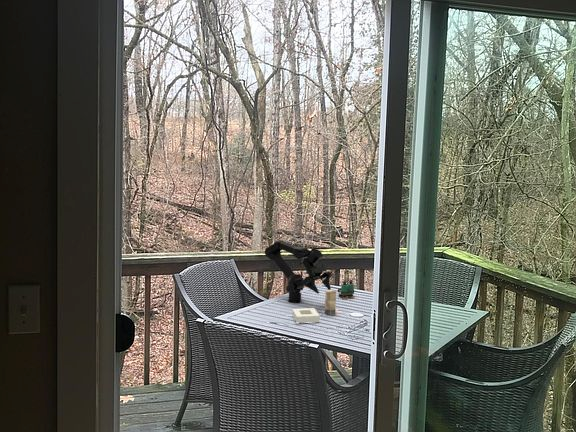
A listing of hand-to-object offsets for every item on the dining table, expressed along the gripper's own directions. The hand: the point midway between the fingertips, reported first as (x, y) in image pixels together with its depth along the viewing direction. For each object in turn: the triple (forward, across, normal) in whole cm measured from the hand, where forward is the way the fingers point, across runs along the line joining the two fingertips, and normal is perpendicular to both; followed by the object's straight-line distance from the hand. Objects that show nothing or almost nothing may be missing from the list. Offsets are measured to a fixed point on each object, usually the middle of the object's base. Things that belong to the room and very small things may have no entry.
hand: (324, 291), depth 334 cm
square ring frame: (+10, -16, +7) cm, 20 cm away
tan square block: (+11, 0, +5) cm, 12 cm away
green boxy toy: (+1, +28, +15) cm, 32 cm away
